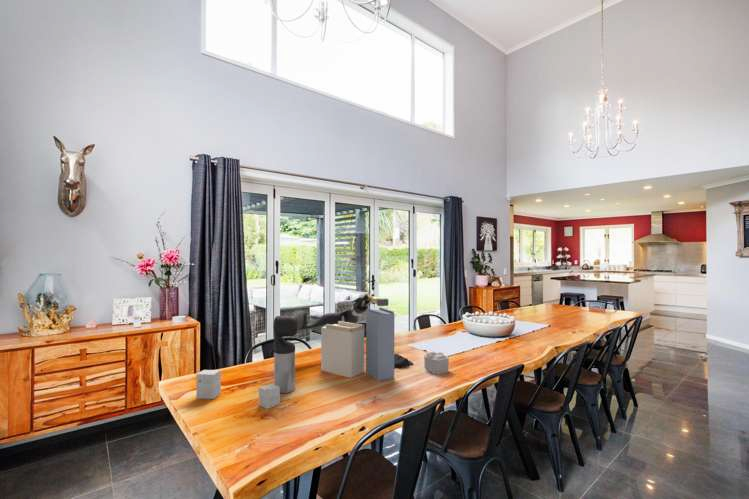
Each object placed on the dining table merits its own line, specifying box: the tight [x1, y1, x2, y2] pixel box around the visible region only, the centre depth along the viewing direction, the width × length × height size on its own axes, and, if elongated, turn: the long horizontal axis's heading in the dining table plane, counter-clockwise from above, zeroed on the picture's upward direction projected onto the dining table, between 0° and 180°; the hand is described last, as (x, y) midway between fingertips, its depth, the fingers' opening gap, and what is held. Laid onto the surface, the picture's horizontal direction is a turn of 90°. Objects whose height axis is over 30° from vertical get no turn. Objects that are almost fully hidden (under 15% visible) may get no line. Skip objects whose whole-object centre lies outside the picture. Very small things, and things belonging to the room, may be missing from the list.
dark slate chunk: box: [394, 353, 414, 370], centre depth 199 cm, size 15×22×5 cm
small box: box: [195, 369, 222, 400], centre depth 151 cm, size 8×6×10 cm
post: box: [365, 307, 395, 382], centre depth 178 cm, size 14×9×33 cm, turn 26°
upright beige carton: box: [320, 320, 365, 379], centre depth 184 cm, size 20×11×24 cm, turn 56°
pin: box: [363, 294, 389, 307], centre depth 184 cm, size 22×5×3 cm, turn 26°
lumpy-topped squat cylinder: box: [423, 351, 450, 374], centre depth 187 cm, size 10×13×9 cm
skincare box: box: [258, 383, 281, 410], centre depth 143 cm, size 6×6×7 cm
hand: (370, 295), depth 189 cm, fingers closed on pin, 3 cm apart
